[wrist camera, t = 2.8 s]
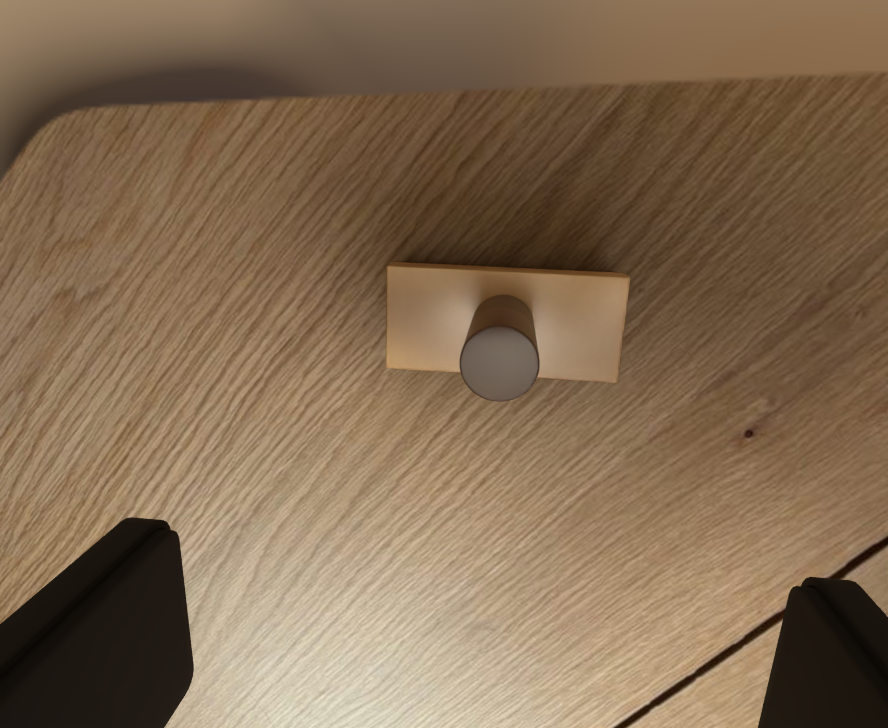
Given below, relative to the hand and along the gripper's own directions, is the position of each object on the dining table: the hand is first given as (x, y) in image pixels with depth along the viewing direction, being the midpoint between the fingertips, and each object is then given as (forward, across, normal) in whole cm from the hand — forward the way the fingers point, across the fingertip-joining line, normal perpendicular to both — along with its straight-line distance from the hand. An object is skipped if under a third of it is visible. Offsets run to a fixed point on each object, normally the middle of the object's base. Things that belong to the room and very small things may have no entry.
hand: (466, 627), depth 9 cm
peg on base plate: (+20, 0, -1) cm, 20 cm away
